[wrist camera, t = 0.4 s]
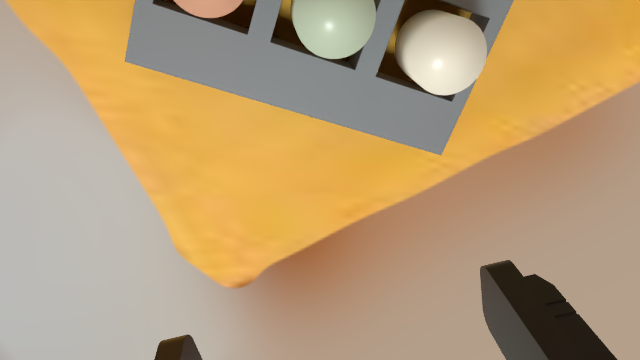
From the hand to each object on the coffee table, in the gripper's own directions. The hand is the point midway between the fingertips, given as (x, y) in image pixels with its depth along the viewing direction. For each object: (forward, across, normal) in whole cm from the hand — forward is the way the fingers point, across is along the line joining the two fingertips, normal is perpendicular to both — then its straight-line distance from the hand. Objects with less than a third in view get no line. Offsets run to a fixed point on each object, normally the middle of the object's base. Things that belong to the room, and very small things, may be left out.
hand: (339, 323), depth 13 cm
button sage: (+23, -3, -5) cm, 23 cm away
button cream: (+23, -10, -1) cm, 25 cm away
